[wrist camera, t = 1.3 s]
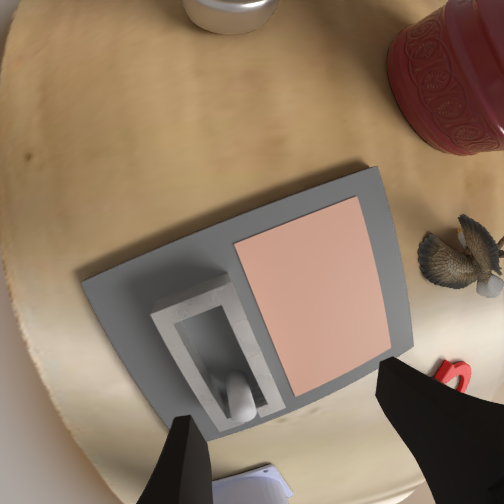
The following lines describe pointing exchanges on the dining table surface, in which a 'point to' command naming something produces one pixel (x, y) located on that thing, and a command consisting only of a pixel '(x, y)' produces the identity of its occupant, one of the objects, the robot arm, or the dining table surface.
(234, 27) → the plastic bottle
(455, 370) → the tow hook
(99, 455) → the dining table surface
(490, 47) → the canister
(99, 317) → the post board
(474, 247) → the eagle figurine
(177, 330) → the c link
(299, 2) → the dining table surface
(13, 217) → the dining table surface
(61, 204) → the dining table surface
